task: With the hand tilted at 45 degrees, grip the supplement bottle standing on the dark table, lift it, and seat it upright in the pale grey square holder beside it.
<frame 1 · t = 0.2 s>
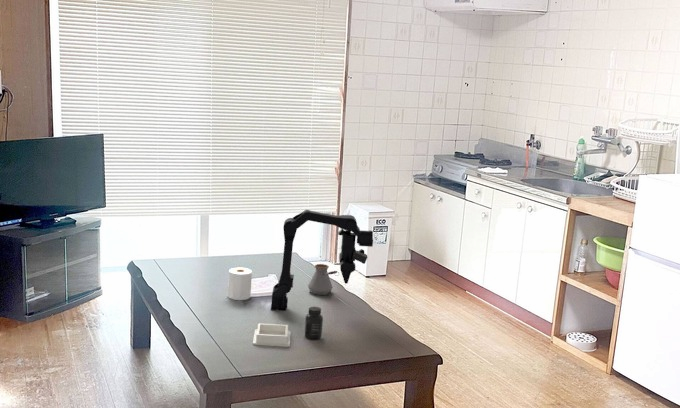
hand: (345, 280, 315), 15 cm above the table, tool pointing down, fingers open, 9 cm apart
holder: (271, 338, 283), on the table
toilet paper: (239, 296, 327), on the table
coffee pot: (324, 296, 338), on the table
supplement bottle: (312, 337, 288), on the table
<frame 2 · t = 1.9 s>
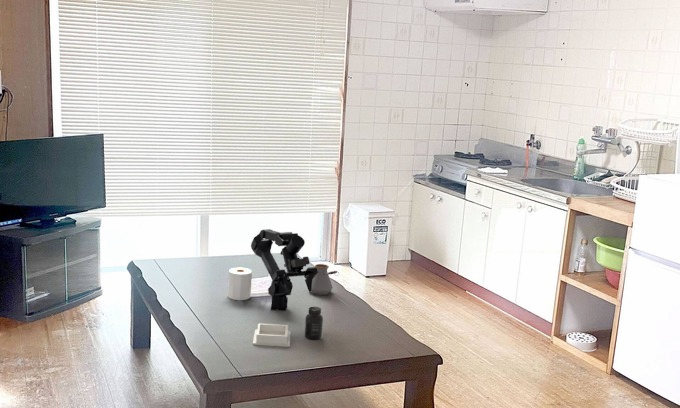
hand: (300, 292, 297), 14 cm above the table, tool tilted 45°, fingers open, 9 cm apart
nothing on the table moved.
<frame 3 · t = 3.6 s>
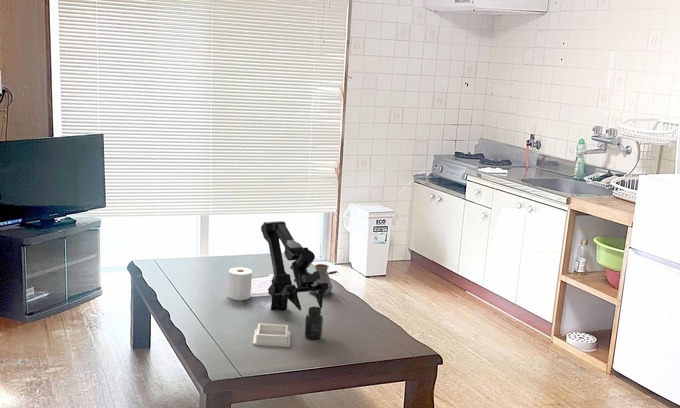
hand: (310, 308, 289), 11 cm above the table, tool tilted 45°, fingers open, 9 cm apart
nothing on the table moved.
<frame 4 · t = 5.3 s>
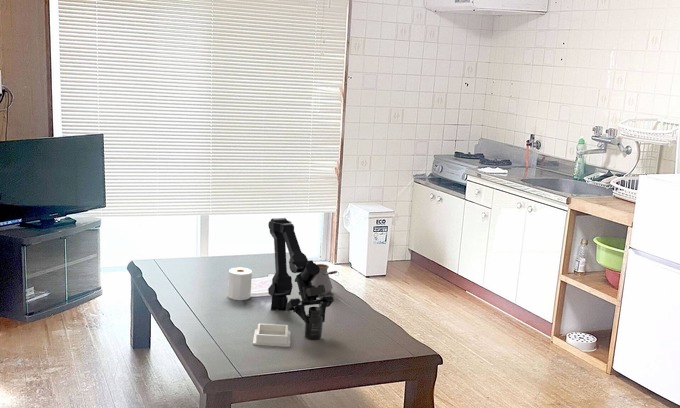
hand: (315, 322, 285), 7 cm above the table, tool tilted 45°, fingers closed on supplement bottle, 7 cm apart
supplement bottle: (312, 337, 288), on the table, touching gripper
everything else where it was.
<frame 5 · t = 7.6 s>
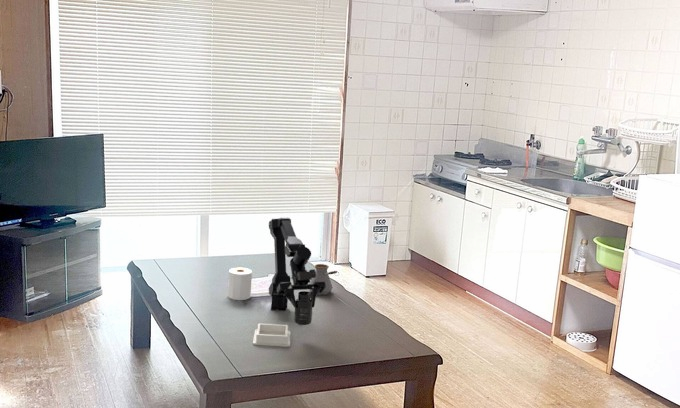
hand: (304, 307, 282), 13 cm above the table, tool tilted 45°, fingers closed on supplement bottle, 7 cm apart
supplement bottle: (302, 322, 285), point 6 cm above the table, touching gripper
everything else where it was.
when the fingers open (8 cm above the table, at t = 10.3 s): supplement bottle drops 1 cm, resting on holder.
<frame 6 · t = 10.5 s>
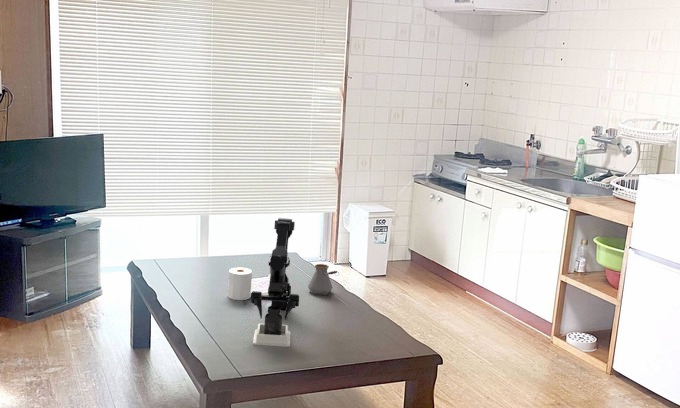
hand: (273, 319, 280), 9 cm above the table, tool tilted 45°, fingers open, 9 cm apart
supplement bottle: (272, 337, 283), resting on holder
everything else where it was.
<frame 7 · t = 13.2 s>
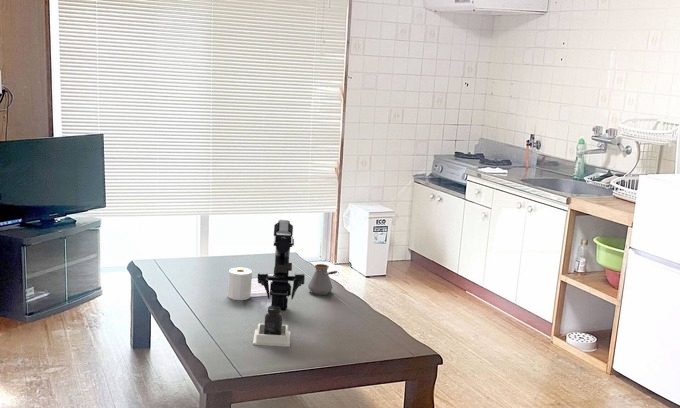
hand: (280, 298, 290), 13 cm above the table, tool tilted 40°, fingers open, 9 cm apart
nothing on the table moved.
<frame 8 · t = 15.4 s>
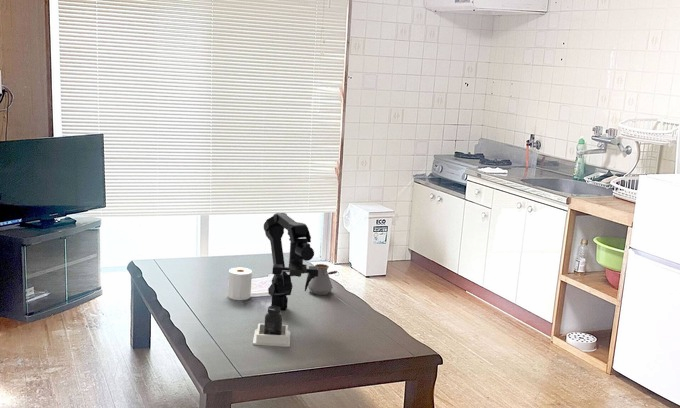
hand: (294, 290, 302), 13 cm above the table, tool pointing down, fingers open, 9 cm apart
nothing on the table moved.
at the end: supplement bottle 0.2 cm off-centre on the holder, point 0.4 cm above the holder's base; supplement bottle tilted 0°; the gripper is holding nothing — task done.
